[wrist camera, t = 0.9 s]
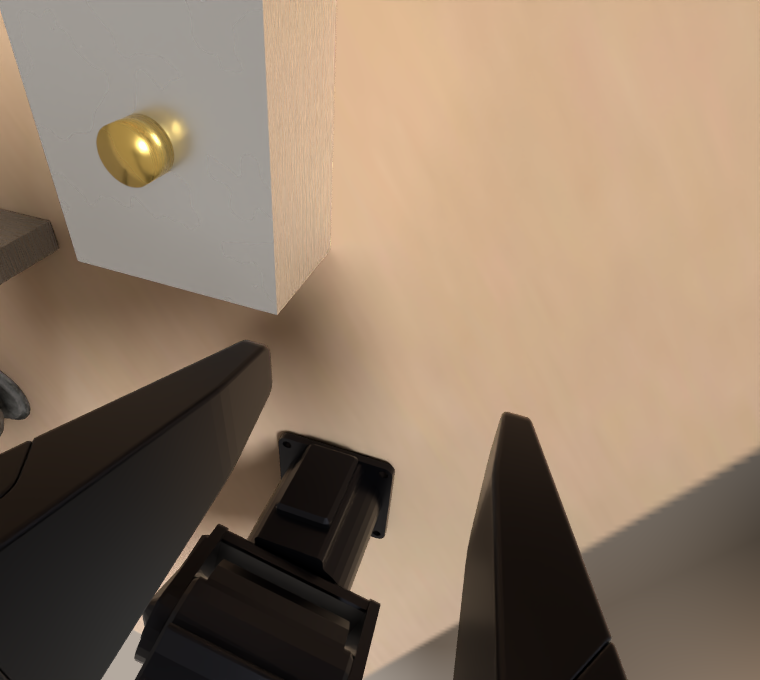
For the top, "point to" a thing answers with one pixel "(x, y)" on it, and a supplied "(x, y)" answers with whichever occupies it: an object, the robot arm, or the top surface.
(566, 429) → the top surface
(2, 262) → the frame
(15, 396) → the salt shaker
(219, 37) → the drawer
